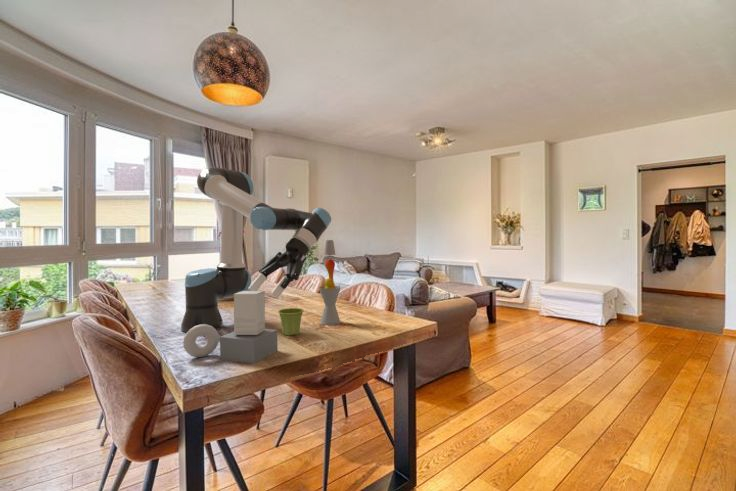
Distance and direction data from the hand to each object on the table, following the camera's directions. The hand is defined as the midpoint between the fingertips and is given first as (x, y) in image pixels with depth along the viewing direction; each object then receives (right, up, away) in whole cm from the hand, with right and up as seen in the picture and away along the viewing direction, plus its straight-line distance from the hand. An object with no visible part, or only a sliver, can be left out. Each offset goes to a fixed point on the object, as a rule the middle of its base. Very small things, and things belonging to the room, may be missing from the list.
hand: (262, 293), depth 111 cm
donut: (-17, -19, -3) cm, 26 cm away
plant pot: (+4, -18, +22) cm, 29 cm away
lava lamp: (+17, -18, +38) cm, 46 cm away
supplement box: (-3, -12, -2) cm, 13 cm away
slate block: (-3, -19, -2) cm, 19 cm away
